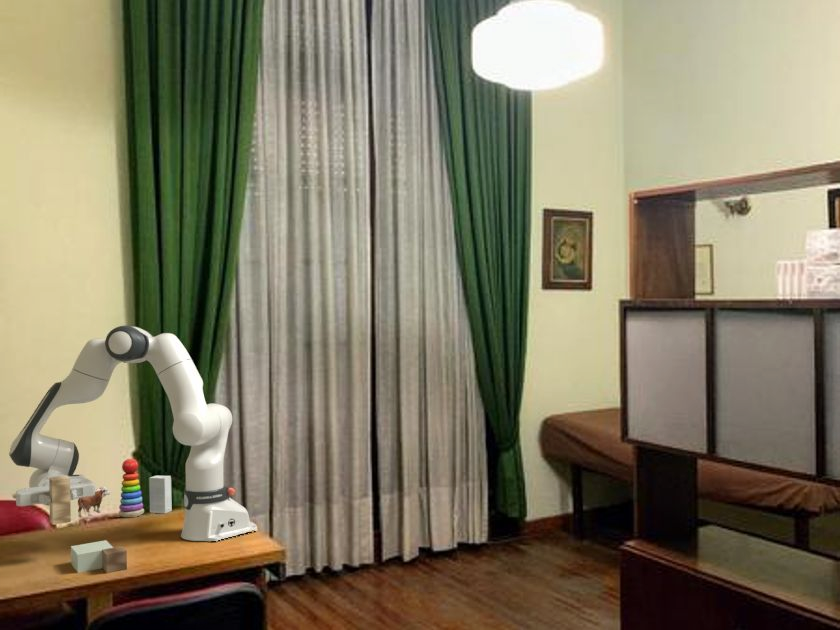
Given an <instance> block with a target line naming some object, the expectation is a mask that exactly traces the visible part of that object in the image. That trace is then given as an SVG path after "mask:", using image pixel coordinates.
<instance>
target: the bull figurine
mask: <svg viewBox="0 0 840 630" xmlns="http://www.w3.org/2000/svg"><path fill="white" fill-rule="evenodd" d="M110 494H111V491H109V489H108V488H107V487H106V486H101V487H99V488H97V489H96V488H95V495H94V496H92V497H84V498H77V505H78V510H77V512H78V513H77V514H78V515H77V516H78V517H79V518H82V517H83V516H82V514H81V513H82V510H83V513H84V514H85V515H86V514H87V515H88V517H93V514H91V512H90V509H91V508H92V507H93V512H95V513H97V514H100V513H101V511H100V508H101V503H102V501H103V498H104V497H106V496H108V495H110Z"/></svg>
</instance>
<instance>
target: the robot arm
mask: <svg viewBox="0 0 840 630" xmlns="http://www.w3.org/2000/svg"><path fill="white" fill-rule="evenodd" d="M147 362H149V364H151V366H152V367H153V370H154V371H155V373H156V376H157V378H158V379H159V381H160V383H161V385H162V387H163V390H164V392H165V393H166V395H167V398H168V401H169V404H170V408H171V411H172V417H173V423H172V433H173V437H174V439H175V440H177V442H178V443H180V444H181V445H184V446H189V447H190V451H189V455H188V457H187V459H186V462H185V488H184V490H183V491H184V492H183V493H184V495H183V503H184V505H183V507H184V508H185V510H184V518H183V519H184V520H183V527H182V530H181V534H180V537H181V538H182V539H183V540H186V541H192V542H193V541H194V542H196V541H197V542H211V541H216V542H219V541H218V540H220V541H222V540H221V539H224V538H228V537H232V536H236V535H238V534H242V533H246V532H249V531H252V530H255V531H256V532H258V525H257V524H256V523H254V522H253V521H250V515H249V512H248V510H247V508H246V507H244V506H243V505H241V503H239V502H237V501H236V500H235V499H233V498H231V497H230V496H234V495H235V494H236V489H234V488H233V487H228V486H227V485H224V484H225V483H224V462H225V453H226V447H227V443H228V437H229V436H228V435H229V432H230V429H231V426H232V424H233V415H232V412H231V410H230V409H229V408H228V407H227V406H225V405H224V404H219V403H208V404H207V401H206V399H205V395H204V389H203V387H204V381H203V378H202V377H201V374H200V373H199V370H198V369H197V366H196V365H195V363H194V360H193V359H192V357H191V356H190V354H189V352H188V351H187V349H186V347H185V345H183V343H182V342H181V340H180V338H178V337H177V336H176V334H174V333H171V332H163V333H160V334H158V335H156V336H154V335H153V334H152V333H151V332H150V331H148V330H145V329H142V328H140V327H138V326H131V325H120V326H117V327H115V328H113V329H111V330H110V331H109V333H107V335H106V337H105V338H91V339H89V340H88V341H87V342H86V343H85V345H84V346H83V348H82V349H81V351H80V353H79V354H78V356H77V357H76V360H75V361H74V364H73V366H72V369H71V370H70V372H69V374H68V375H67V376H65V378H64V379H63V380H61V381H59V382H54V383H53V384H52V385H51V386H50V388H48V390H47V392H46V393H45V395H44V396H43V397H42V399H41V400H40V402H39V403H38V405H37V406H36V408H35V410H34V411H33V413H32V414H31V416H30V417H29V419H28V420H27V422H26V424H24V427H23V428H22V430H21V431H20V432H19V434H18V435H17V436H16V437H15V438H14V440H13V441H12V442H11V445H10V447H9V455H8V456H9V458H10V459H11V460H12V462H13V463H14V464H15V465H16V466H19V467H25V468H29V467H30V468H33V469H35V470H34V471H33V472H32V474H31V475H30V477H29V481H28V483H29V487H25V488H24V487H23V488H19V489H17V490H16V492H15V493H13V494H12V495H11V496H12V499H15V502H16V503H15V504H16V506H17V507H27V506H28V507H29V506H33V505H41V504H42V505H44V506H48V507H50V503H51V502H52V500H51V499H52V498H51V495H50V494H49V478H52V477H60V476H68V477H69V478H70V501H73V500H76V499H77V500H78V499H79V498H84V497H92V496H94V495H95V490H96V484H95V483H94V482H93V481H92V480H91V479H89V478H85V475H83V474H74V473H75V472H76V469H77V467H78V464H79V460H80V459H79V458H80V452H79V449H78V446H77V445H76V444H75V443H74V442H72V441H69V440H65V439H61V438H56V437H53V436H48V435H43V434H42V433H40V432H41V430H42V429H43V427H44V425H45V424H46V422H47V421H48V419H49V418H50V416H51V415H52V413H53V412H55V410H56V409H57V408H59V407H62V406H67V405H77V404H79V405H80V404H86V403H91V402H93V401H96V400H97V399H99V398H101V396H102V395H103V394H104V392H105V391H106V389H107V387H108V385H109V382H110V380H111V377H112V375H113V373H114V370H115V368H116V367H117V366H118V365H119V364H121V363H127V364H144V363H147ZM236 537H237V536H236ZM232 538H233V537H232ZM228 539H229V538H228ZM224 540H225V539H224Z"/></svg>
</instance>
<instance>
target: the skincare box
mask: <svg viewBox="0 0 840 630" xmlns="http://www.w3.org/2000/svg"><path fill="white" fill-rule="evenodd" d="M148 481H149V483H148V484H149V486H148V487H149V513H150V514H164V515H165V514H168V513H170V512H172V509H173V508H172V507H173V506H172V505H173V504H172V500H173V499H172V477H171V475H154V476H151V477H149V478H148Z"/></svg>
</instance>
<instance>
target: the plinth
mask: <svg viewBox="0 0 840 630" xmlns="http://www.w3.org/2000/svg"><path fill="white" fill-rule="evenodd" d="M109 548H114V546H112V544H110V542H109V541H108V540H106V539H105V540H100V541H94V542H89V543H82V544H81V543H80V544H77V545H76V544H75V545H71V546H70V562H71V563H70V564H71V566H72V567H73V568H74V569H75V571H76V572H77V573H84V572H90V571H94V570H100V569H103V568H102V550H103V549H109Z"/></svg>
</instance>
